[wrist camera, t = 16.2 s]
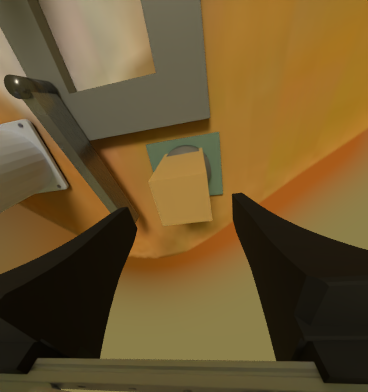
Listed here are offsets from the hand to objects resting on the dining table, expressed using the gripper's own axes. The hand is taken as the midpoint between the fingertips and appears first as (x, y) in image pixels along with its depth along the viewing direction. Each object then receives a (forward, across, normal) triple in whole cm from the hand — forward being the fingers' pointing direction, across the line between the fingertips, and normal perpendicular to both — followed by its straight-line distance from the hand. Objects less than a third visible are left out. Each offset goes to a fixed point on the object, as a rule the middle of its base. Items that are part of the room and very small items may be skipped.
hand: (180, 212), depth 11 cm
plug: (+8, 0, 0) cm, 8 cm away
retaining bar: (+7, +9, -3) cm, 12 cm away
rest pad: (+8, 0, 0) cm, 8 cm away
